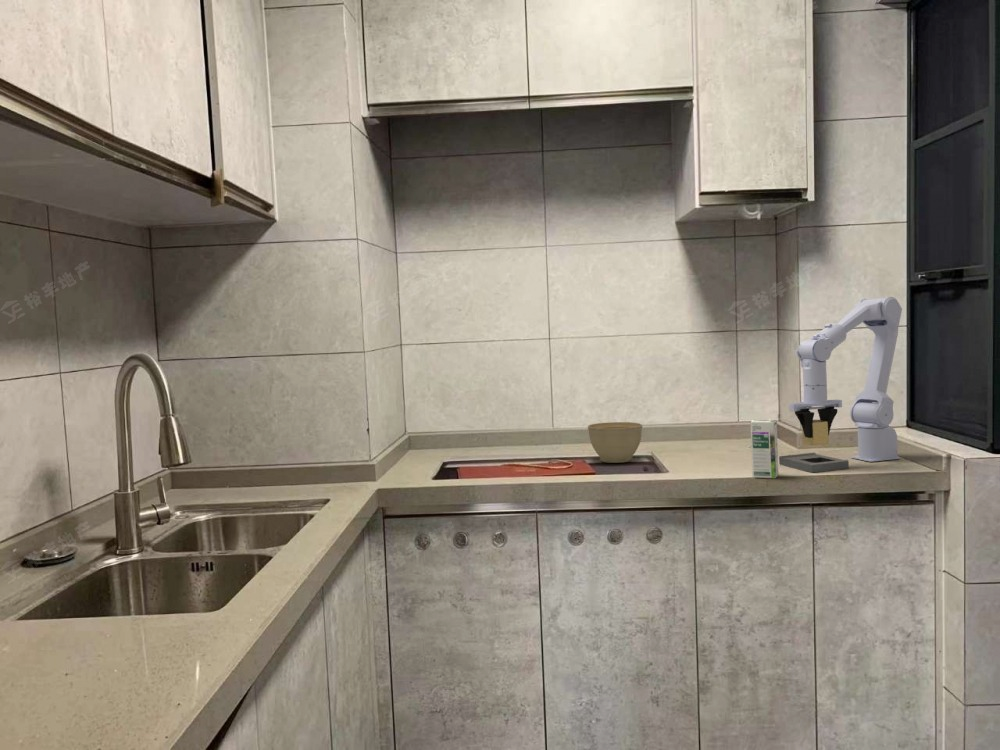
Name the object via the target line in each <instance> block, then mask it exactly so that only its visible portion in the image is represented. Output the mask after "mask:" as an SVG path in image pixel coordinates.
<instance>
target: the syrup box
mask: <svg viewBox="0 0 1000 750" xmlns="http://www.w3.org/2000/svg"><path fill="white" fill-rule="evenodd" d="M777 424H778V423H777V419H776V418H775V419H768V418H767V419H766V418H765V419H761V418H759V419H756V418H755V419H752V420H751V421H750V423H749V425H750V443H751V445H750V446H751V463H752V464H751V465H752V466H751V467H752V469H751V470H752V471H751V473H752V478H754V479H757V478H758V479H776V478H777V477H778V475H779V472H780V471H779V455H778V454H779V449H778V425H777Z"/></svg>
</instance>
